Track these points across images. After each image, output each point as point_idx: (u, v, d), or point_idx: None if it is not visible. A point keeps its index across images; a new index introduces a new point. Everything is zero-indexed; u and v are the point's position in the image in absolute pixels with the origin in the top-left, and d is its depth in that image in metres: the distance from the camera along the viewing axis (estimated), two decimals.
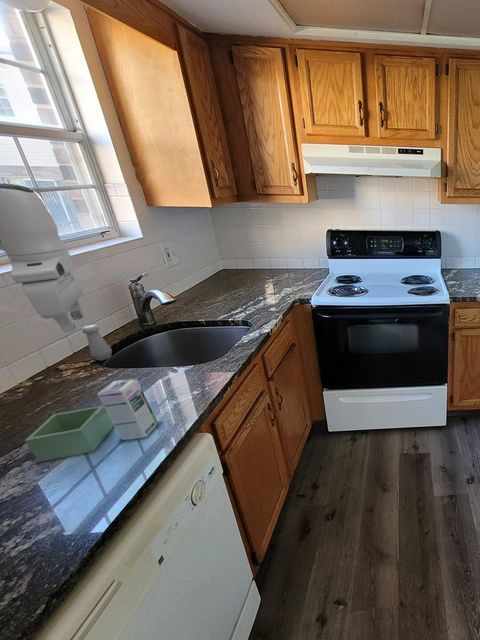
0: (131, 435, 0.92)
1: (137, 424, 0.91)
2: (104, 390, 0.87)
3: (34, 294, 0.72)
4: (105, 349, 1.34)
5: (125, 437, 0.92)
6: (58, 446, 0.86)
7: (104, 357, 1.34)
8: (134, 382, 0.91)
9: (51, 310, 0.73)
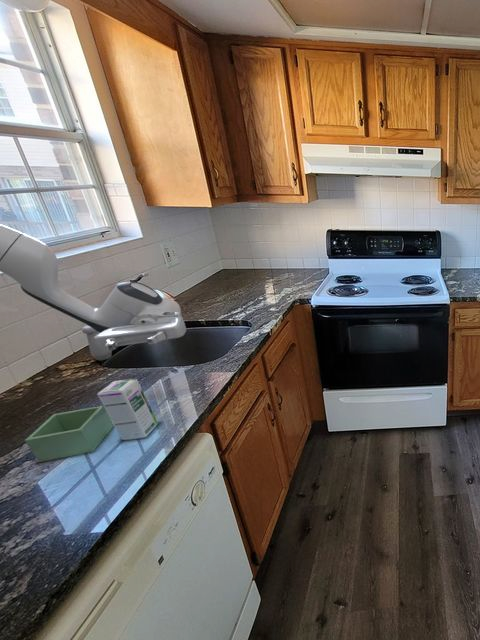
0: (131, 435, 0.92)
1: (137, 424, 0.91)
2: (104, 390, 0.87)
3: (182, 322, 1.08)
4: (105, 349, 1.34)
5: (125, 437, 0.92)
6: (58, 446, 0.86)
7: (104, 357, 1.34)
8: (134, 382, 0.91)
9: (181, 330, 1.05)
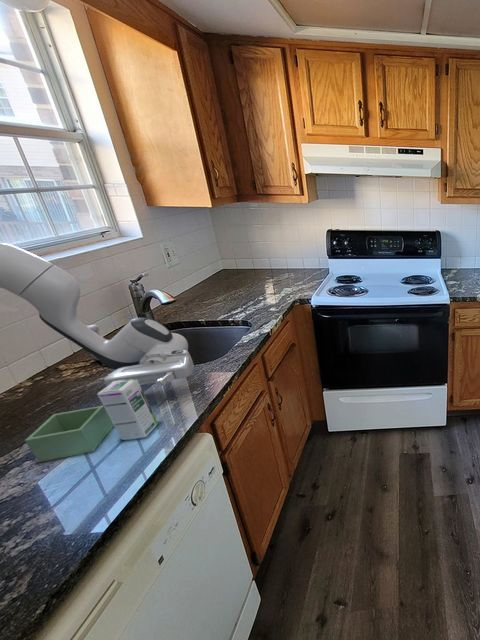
0: (131, 435, 0.92)
1: (137, 424, 0.91)
2: (104, 390, 0.87)
3: (190, 361, 1.09)
4: None
5: (125, 437, 0.92)
6: (58, 446, 0.86)
7: None
8: (134, 382, 0.91)
9: (189, 370, 1.07)
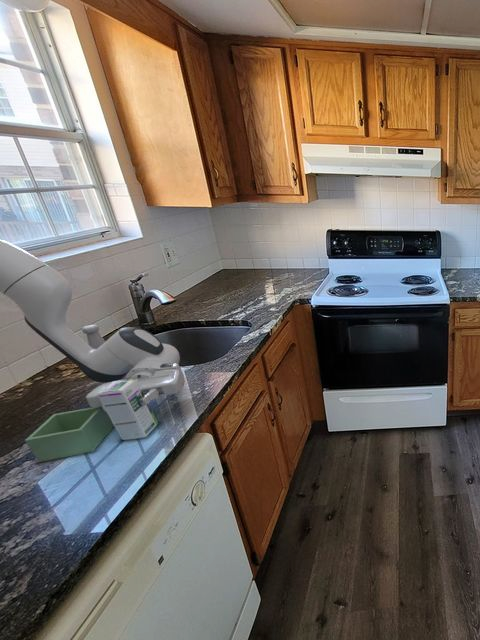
0: (131, 435, 0.92)
1: (137, 424, 0.91)
2: (104, 390, 0.87)
3: (180, 375, 1.01)
4: None
5: (125, 437, 0.92)
6: (58, 446, 0.86)
7: None
8: (134, 382, 0.91)
9: (179, 385, 0.99)
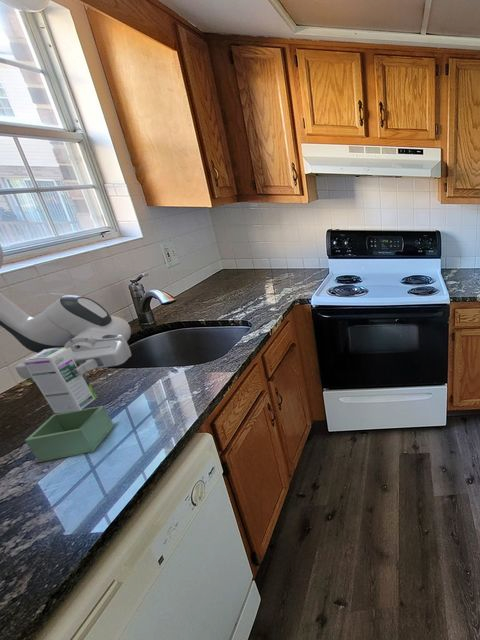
0: (64, 408, 0.85)
1: (70, 396, 0.84)
2: (31, 357, 0.80)
3: (124, 347, 0.95)
4: None
5: (57, 410, 0.85)
6: (58, 446, 0.86)
7: None
8: (67, 350, 0.84)
9: (121, 357, 0.92)
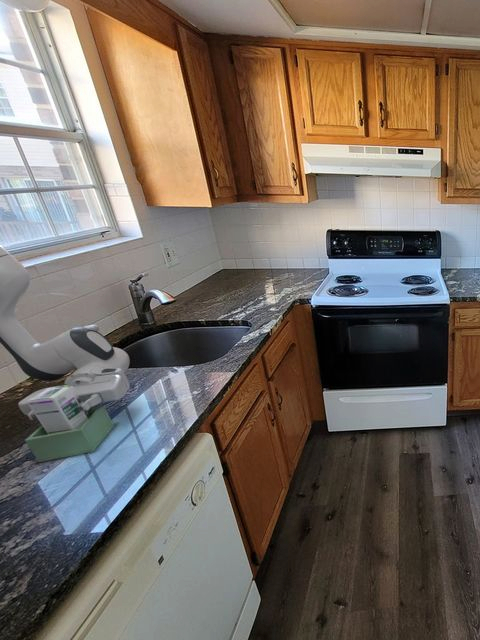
0: None
1: None
2: (35, 398, 0.84)
3: (122, 381, 0.98)
4: None
5: None
6: (58, 446, 0.86)
7: None
8: (69, 389, 0.88)
9: (120, 391, 0.95)
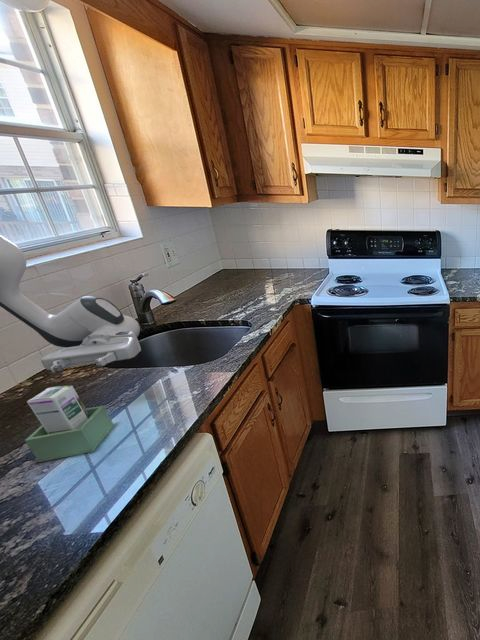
0: None
1: None
2: (35, 398, 0.84)
3: (134, 342, 1.07)
4: None
5: None
6: (58, 446, 0.86)
7: None
8: (69, 389, 0.88)
9: (133, 351, 1.04)
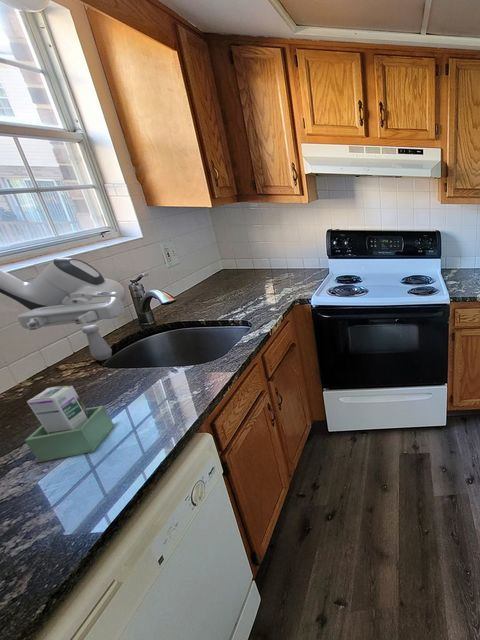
0: None
1: None
2: (35, 398, 0.84)
3: (117, 302, 1.02)
4: (105, 349, 1.34)
5: None
6: (58, 446, 0.86)
7: (104, 357, 1.34)
8: (69, 389, 0.88)
9: (115, 310, 0.99)
